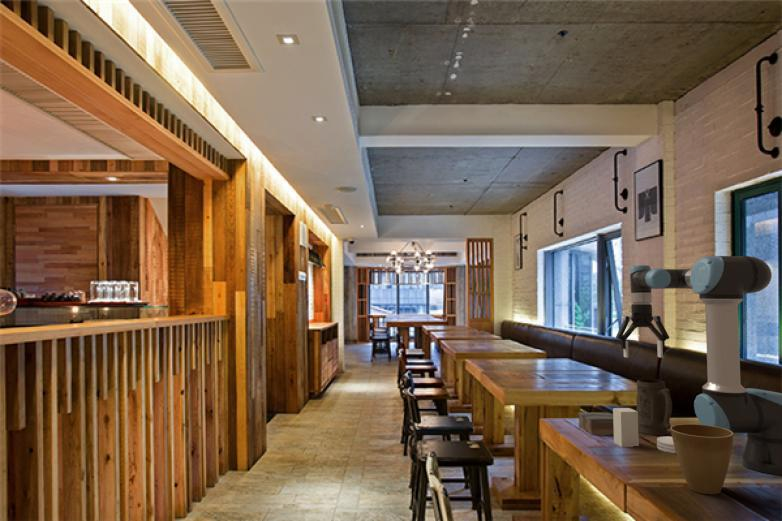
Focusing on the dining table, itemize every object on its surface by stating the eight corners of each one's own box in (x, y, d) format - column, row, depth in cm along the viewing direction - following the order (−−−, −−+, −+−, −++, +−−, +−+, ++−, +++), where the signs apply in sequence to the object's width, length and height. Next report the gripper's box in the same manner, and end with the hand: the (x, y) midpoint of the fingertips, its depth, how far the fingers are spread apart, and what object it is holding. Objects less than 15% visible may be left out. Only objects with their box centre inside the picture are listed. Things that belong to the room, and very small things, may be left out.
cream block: (638, 446, 186) (637, 411, 187) (621, 446, 186) (620, 411, 187) (630, 441, 192) (629, 408, 193) (614, 442, 192) (613, 408, 193)
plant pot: (712, 479, 153) (710, 422, 154) (749, 499, 138) (746, 436, 139) (661, 480, 152) (659, 423, 153) (692, 500, 138) (690, 437, 139)
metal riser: (622, 435, 202) (622, 419, 203) (591, 435, 202) (591, 419, 202) (608, 427, 214) (608, 412, 215) (579, 427, 214) (578, 412, 214)
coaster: (656, 452, 181) (656, 441, 181) (657, 444, 189) (657, 434, 190) (690, 456, 176) (690, 445, 176) (689, 448, 185) (689, 438, 185)
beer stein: (629, 429, 209) (630, 378, 209) (648, 426, 214) (649, 376, 214) (663, 442, 195) (665, 387, 195) (683, 438, 200) (684, 385, 200)
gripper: (667, 303, 218) (669, 356, 217) (606, 303, 218) (608, 356, 217) (677, 303, 211) (679, 358, 209) (614, 304, 211) (615, 358, 210)
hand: (643, 357), depth 213 cm, fingers open, 13 cm apart
